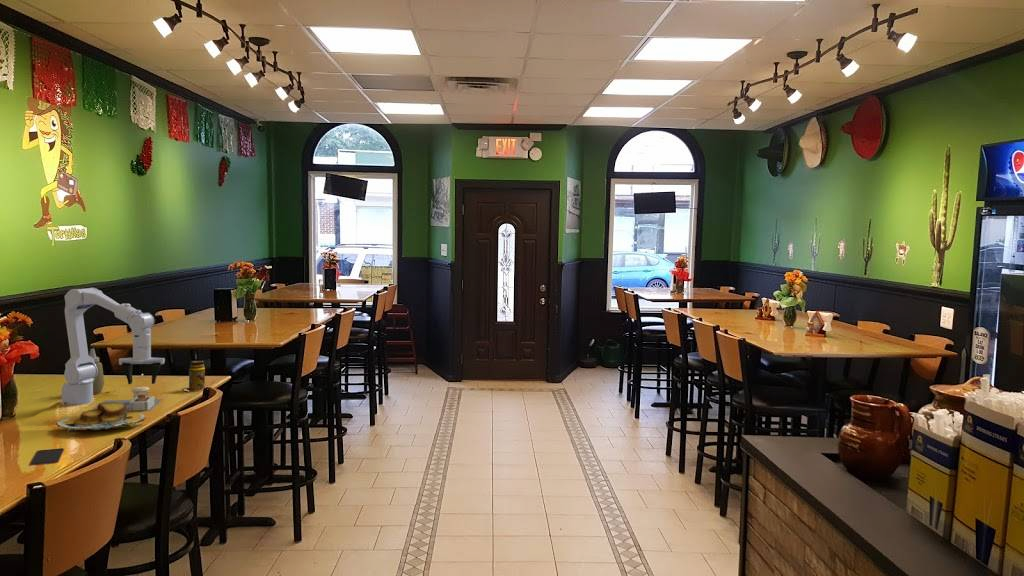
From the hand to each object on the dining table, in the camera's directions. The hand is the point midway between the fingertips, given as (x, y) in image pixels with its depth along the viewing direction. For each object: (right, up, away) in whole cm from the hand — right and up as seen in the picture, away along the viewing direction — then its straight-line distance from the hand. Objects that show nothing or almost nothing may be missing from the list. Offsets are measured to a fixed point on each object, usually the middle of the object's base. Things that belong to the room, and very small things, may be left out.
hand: (141, 383), depth 240 cm
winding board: (-7, -10, +3) cm, 13 cm away
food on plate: (-3, -12, -18) cm, 22 cm away
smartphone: (+1, -15, -50) cm, 52 cm away
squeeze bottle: (-34, -8, +24) cm, 42 cm away
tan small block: (0, -9, +1) cm, 9 cm away
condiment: (+1, -8, +37) cm, 38 cm away
